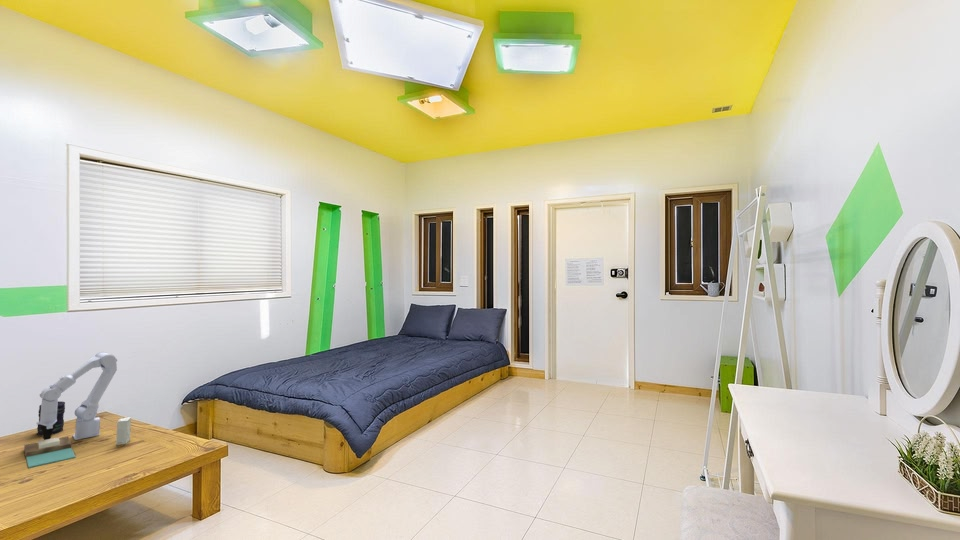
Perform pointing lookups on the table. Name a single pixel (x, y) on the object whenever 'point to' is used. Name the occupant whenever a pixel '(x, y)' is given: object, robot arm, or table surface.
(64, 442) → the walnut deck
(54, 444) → the ceramic tile
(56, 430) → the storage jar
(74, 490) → the table surface
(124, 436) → the skincare box
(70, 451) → the teal mat
